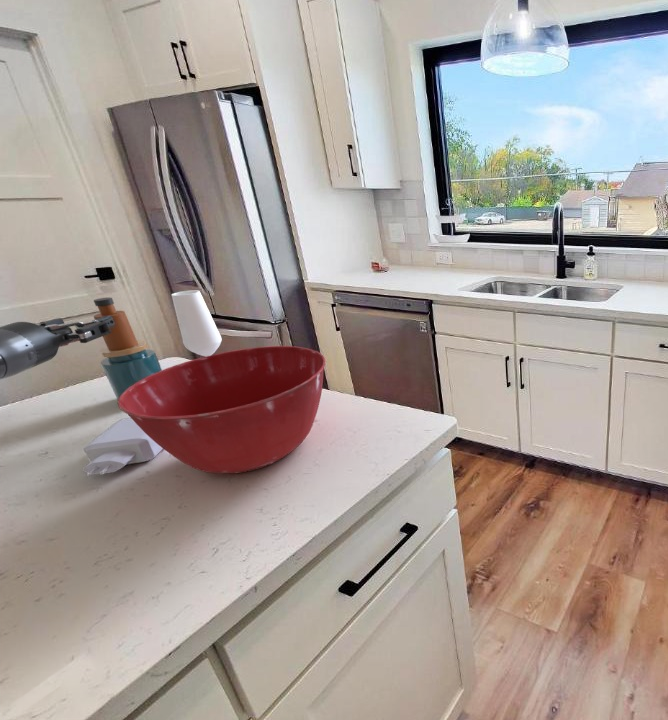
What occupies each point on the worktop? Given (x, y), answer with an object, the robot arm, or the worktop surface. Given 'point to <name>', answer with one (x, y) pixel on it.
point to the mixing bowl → (230, 406)
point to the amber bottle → (116, 326)
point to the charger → (119, 448)
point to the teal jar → (128, 366)
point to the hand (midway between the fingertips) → (86, 321)
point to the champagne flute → (196, 323)
